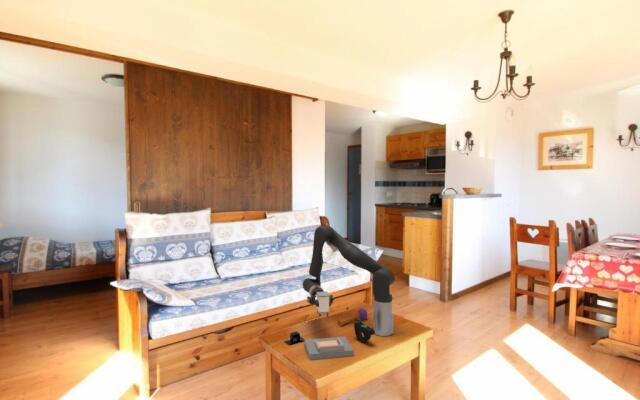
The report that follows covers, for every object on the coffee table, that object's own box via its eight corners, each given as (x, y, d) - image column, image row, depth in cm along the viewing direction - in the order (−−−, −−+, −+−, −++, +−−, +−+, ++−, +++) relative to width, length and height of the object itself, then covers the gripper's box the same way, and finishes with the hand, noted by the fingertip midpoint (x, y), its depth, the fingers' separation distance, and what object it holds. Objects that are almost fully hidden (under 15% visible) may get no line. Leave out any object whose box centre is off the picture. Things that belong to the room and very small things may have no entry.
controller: (358, 336, 171) (358, 316, 170) (376, 345, 161) (376, 325, 160) (352, 338, 168) (352, 318, 168) (369, 348, 158) (369, 327, 158)
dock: (345, 341, 165) (345, 331, 164) (353, 355, 151) (353, 344, 151) (304, 345, 161) (304, 334, 160) (309, 360, 147) (309, 348, 147)
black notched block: (287, 348, 158) (287, 338, 158) (280, 342, 164) (280, 333, 164) (309, 342, 165) (309, 332, 165) (302, 336, 171) (302, 327, 171)
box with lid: (326, 312, 171) (326, 291, 171) (329, 316, 165) (329, 295, 165) (316, 312, 170) (316, 291, 170) (318, 317, 164) (318, 296, 164)
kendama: (335, 317, 185) (361, 306, 197) (337, 328, 185) (363, 317, 197) (342, 318, 181) (368, 307, 192) (343, 329, 180) (370, 318, 192)
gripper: (304, 287, 180) (309, 298, 163) (330, 286, 183) (338, 296, 166) (304, 301, 180) (309, 313, 164) (330, 299, 183) (338, 311, 167)
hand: (324, 304), depth 165 cm, fingers closed on box with lid, 5 cm apart
